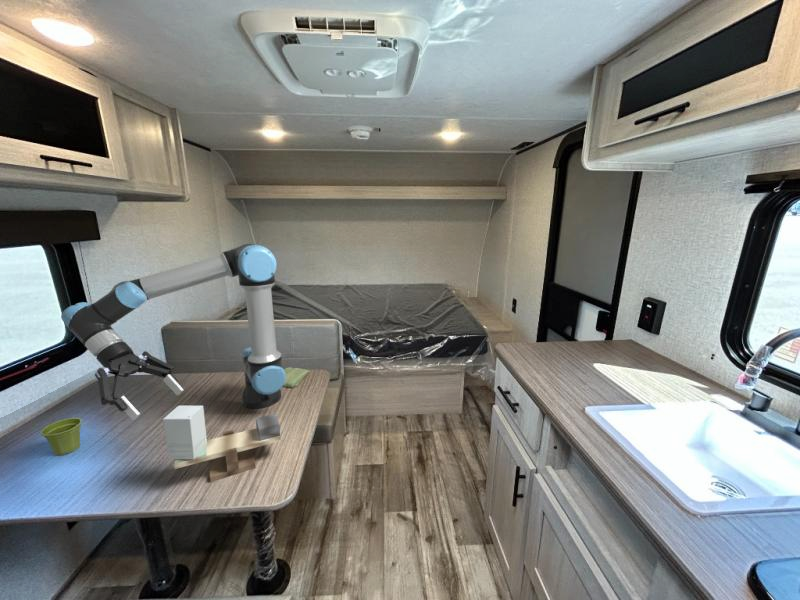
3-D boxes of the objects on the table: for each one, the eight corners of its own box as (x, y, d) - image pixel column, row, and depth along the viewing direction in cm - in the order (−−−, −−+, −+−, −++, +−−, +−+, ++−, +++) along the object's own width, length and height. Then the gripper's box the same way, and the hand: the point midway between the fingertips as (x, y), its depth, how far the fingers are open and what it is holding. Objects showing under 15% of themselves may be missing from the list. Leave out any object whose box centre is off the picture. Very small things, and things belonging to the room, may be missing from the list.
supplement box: (208, 443, 102) (204, 405, 99) (194, 460, 94) (189, 419, 92) (182, 443, 101) (178, 404, 99) (166, 460, 94) (161, 418, 92)
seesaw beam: (275, 427, 114) (275, 412, 113) (280, 440, 107) (279, 425, 106) (176, 452, 100) (174, 435, 99) (174, 469, 93) (172, 451, 92)
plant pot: (66, 460, 106) (60, 435, 104) (38, 458, 106) (31, 434, 105) (94, 441, 115) (89, 418, 113) (68, 440, 116) (62, 417, 114)
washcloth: (311, 373, 169) (310, 366, 168) (295, 390, 152) (295, 383, 151) (286, 371, 171) (285, 365, 170) (268, 387, 154) (267, 381, 153)
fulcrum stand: (250, 447, 113) (248, 425, 111) (255, 467, 103) (253, 444, 101) (209, 459, 107) (206, 436, 105) (210, 482, 97) (207, 457, 96)
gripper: (146, 342, 110) (190, 390, 110) (52, 375, 87) (108, 437, 87) (156, 328, 108) (201, 377, 108) (63, 358, 84) (120, 421, 84)
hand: (160, 404), depth 97 cm, fingers open, 13 cm apart
